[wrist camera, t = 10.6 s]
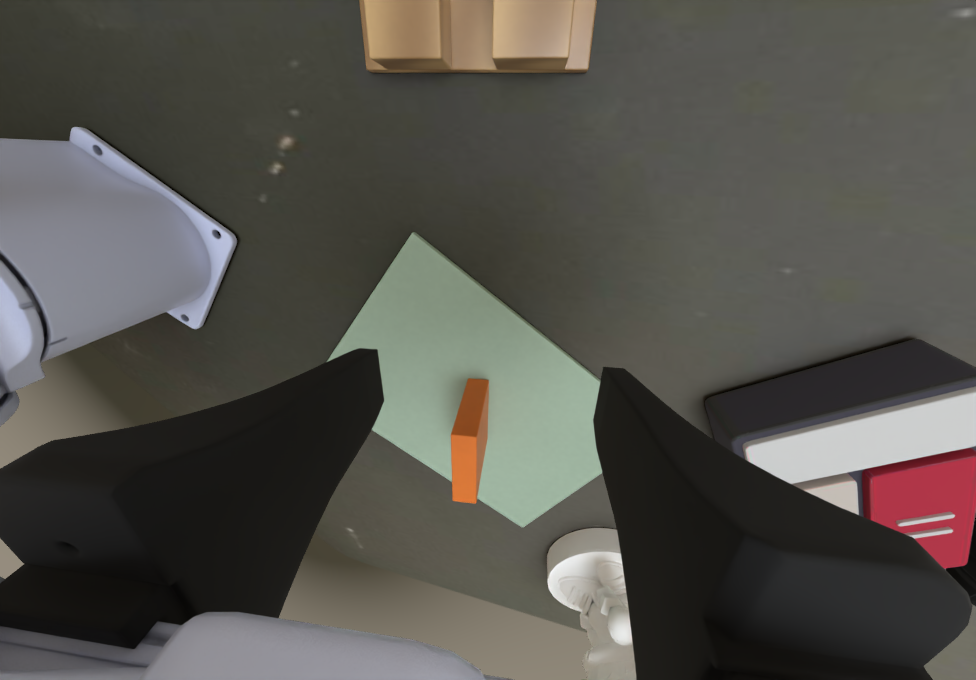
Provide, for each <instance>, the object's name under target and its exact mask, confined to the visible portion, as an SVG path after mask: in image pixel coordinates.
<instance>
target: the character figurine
mask: <svg viewBox="0 0 976 680" xmlns="http://www.w3.org/2000/svg"><path fill="white" fill-rule="evenodd" d="M547 576H548V587H549V590H550V592H551V593H552V595H553V596H554V597H555V598H556V599H557V600H558V601H559V602H560V603H562V604H564V605H566V606H567V607H569V608H571V609H574V610H577V611H580V612H582V613H581V614H580V623H581V627H582V628H584V629H586V630H587V637H588V639H589V641H590V643H591V645H592V647H593V648H591V649H589V650H588V651H587V652H586V653H585V655H584V657H583V663H582V664H583V667H584V669H585V671H586V672H587V679H582V680H637V679H636V669H635V660H634V651H633V642H632V634H631V626H630V617H629V609H628V601H627V594H626V587H625V580H624V572H623V565H622V559H621V552H620V546H619V539H618V533H617V530H615V529H609V528H588V529H582V530H578V531H574V532H571V533H569V534H566V535H565V536H563V537H561V538H559V539H558V540H557V541H556V542H555V543H553V545H552V546H551V547H550V549H549V551H548V554H547Z"/></svg>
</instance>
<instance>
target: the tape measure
mask: <svg viewBox="0 0 976 680" xmlns="http://www.w3.org/2000/svg"><path fill="white" fill-rule="evenodd" d="M946 571H947V572H948V573H949V574H950V575H951V576H952V577H953V578H954V579H955V580H956V581H957V582H958V583H959V584H960V585H961V586H962V587H963V588H964V589H965V590H966V591H967V592H968V595H969V598H970V601H971V603H972V604H973V605H975V606H976V520H975V521H974V526H973V532H972V538H971V544H970V551H969V557H968V562H967V564H966V565H964V566H959V567H952V568H946Z"/></svg>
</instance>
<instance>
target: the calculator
mask: <svg viewBox="0 0 976 680" xmlns="http://www.w3.org/2000/svg"><path fill="white" fill-rule="evenodd" d="M705 406H706V410H707V414H708V417H709V421H710V425H711V428H712V432H713V435H714V439H715V441H716V442H718V443H719V444H721V445H722V446H724V447H726V448H727V449H729V450H730V451H732V452H733V453H735V454H737V455H738V456H740V457H742V458H744V459H745V460H747V461H749V462H751V463H752V464H754V465H756V466H758V467H760V468H761V469H763V470H765V471H767V472H769V473H771V474H772V475H774V476H776V477H778V478H780V479H782V480H784V481H786V482H788V483H790V484H792V485H794V486H796V487H798V488H800V489H802V490H804V491H806V492H808V493H810V494H813V495H815V496H817V497H819V498H821V499H823V500H825V501H827V502H830V503H832V504H834V505H836V506H838V507H841V508H843V509H845V510H848V511H850V512H853V513H855V514H857V515H860V516H862V517H865V518H867V519H869V520H872V521H874V522H877V523H879V524H882V525H884V526H886V527H889V528H891V529H894V530H896V531H898V532H901V533H903V534H906V535H908V536H911V537H913V538H914V539H915V540H916V541H917V542H918V543H919V544H920V545H921V546H922V547H923V548H924V549H925V550H926V551H927V552H928V553H929V554H930V555H931V556H932V557H933V558H934V559H935V560H936V561H937V562H938V563H939V564H940V565H941V566H942V567H943V568H952V567H959V566H964V565H966V564H967V562H968V557H969V551H970V544H971V538H972V532H973V526H974V520H975V513H976V367H974V366H972V365H970V364H968V363H966V362H964V361H962V360H960V359H958V358H956V357H954V356H952V355H950V354H948V353H946V352H944V351H942V350H940V349H938V348H936V347H934V346H932V345H930V344H928V343H926V342H924V341H922V340H919V339H915V340H910V341H906V342H903V343H899V344H896V345H892V346H889V347H885V348H882V349H878V350H874V351H871V352H867V353H864V354H860V355H857V356H853V357H850V358H846V359H843V360H839V361H836V362H832V363H828V364H825V365H821V366H818V367H814V368H811V369H807V370H804V371H800V372H797V373H793V374H790V375H786V376H783V377H779V378H775V379H772V380H768V381H765V382H761V383H758V384H754V385H751V386H747V387H744V388H740V389H737V390H733V391H730V392H726V393H722V394H719V395H715V396H712V397H710V398H708V399H707V400H706V401H705Z"/></svg>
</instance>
